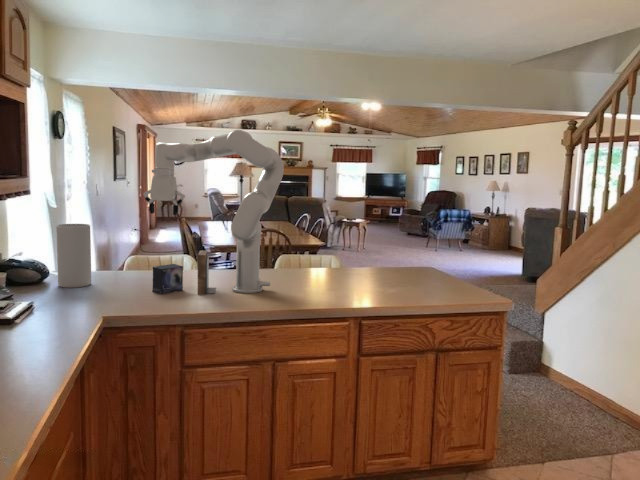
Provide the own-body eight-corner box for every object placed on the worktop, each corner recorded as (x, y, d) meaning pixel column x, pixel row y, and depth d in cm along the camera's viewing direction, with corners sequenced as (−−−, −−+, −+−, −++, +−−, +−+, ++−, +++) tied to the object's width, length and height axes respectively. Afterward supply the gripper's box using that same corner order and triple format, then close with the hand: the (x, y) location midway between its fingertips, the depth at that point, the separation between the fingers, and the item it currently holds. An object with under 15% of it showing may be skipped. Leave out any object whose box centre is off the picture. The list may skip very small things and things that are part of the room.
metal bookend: (215, 288, 214) (216, 255, 212) (214, 294, 203) (214, 259, 201) (207, 288, 213) (207, 255, 211) (205, 294, 202) (205, 259, 201)
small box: (161, 295, 199) (161, 268, 198) (151, 292, 203) (151, 266, 202) (183, 290, 208) (183, 265, 206) (173, 288, 212) (173, 263, 210)
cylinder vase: (78, 289, 204) (76, 227, 201) (51, 286, 206) (49, 225, 203) (97, 283, 216) (96, 224, 213) (71, 280, 218) (70, 223, 215)
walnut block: (207, 288, 214) (207, 250, 212) (205, 294, 202) (205, 255, 200) (199, 288, 213) (200, 250, 211) (197, 294, 201) (197, 255, 199)
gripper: (140, 171, 207) (139, 213, 209) (182, 174, 207) (181, 216, 209) (147, 171, 215) (146, 212, 217) (187, 174, 214) (186, 214, 217)
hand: (163, 214), depth 213 cm, fingers open, 9 cm apart
